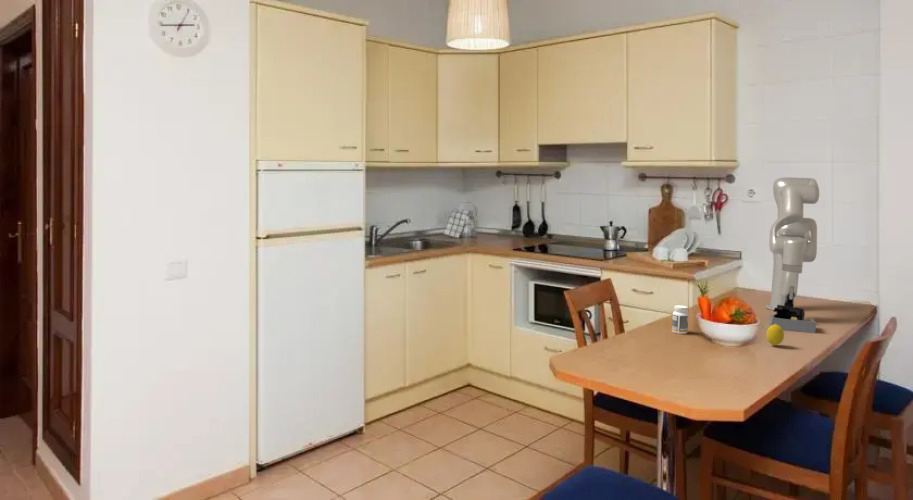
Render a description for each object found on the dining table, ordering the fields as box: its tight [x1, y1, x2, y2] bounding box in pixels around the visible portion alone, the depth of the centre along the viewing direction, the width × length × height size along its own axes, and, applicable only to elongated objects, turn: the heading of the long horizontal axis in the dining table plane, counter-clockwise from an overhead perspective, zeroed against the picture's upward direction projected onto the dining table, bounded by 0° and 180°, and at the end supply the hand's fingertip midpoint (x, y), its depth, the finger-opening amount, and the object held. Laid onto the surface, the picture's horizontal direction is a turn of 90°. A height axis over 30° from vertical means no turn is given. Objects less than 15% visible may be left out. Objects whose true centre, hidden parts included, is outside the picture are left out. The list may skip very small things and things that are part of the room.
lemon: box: [765, 324, 785, 347], centre depth 239 cm, size 6×6×8 cm
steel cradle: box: [769, 314, 817, 334], centre depth 269 cm, size 10×15×5 cm, turn 70°
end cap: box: [773, 305, 806, 321], centre depth 278 cm, size 10×7×7 cm
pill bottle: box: [671, 304, 689, 335], centre depth 256 cm, size 6×6×10 cm
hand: (788, 312), depth 283 cm, fingers closed
